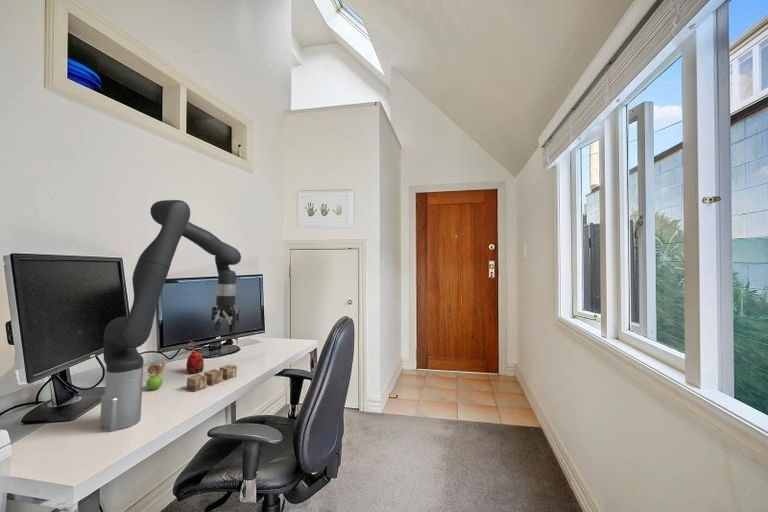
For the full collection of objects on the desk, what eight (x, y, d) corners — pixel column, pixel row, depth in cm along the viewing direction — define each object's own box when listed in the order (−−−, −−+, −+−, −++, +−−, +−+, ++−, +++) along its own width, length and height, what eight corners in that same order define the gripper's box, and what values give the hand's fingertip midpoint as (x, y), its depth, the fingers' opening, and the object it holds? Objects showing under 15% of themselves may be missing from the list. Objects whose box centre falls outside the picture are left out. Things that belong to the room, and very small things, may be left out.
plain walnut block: (211, 386, 135) (212, 374, 135) (203, 384, 137) (204, 372, 137) (222, 382, 140) (222, 370, 140) (214, 380, 142) (214, 369, 142)
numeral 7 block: (227, 380, 142) (227, 368, 142) (219, 378, 144) (219, 367, 144) (236, 377, 146) (237, 365, 147) (228, 375, 149) (229, 364, 149)
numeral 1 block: (195, 392, 128) (195, 379, 128) (186, 390, 130) (187, 377, 130) (206, 388, 133) (207, 375, 133) (198, 386, 135) (198, 373, 135)
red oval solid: (196, 374, 148) (198, 341, 149) (181, 374, 148) (183, 341, 149) (206, 369, 156) (207, 338, 156) (192, 369, 156) (193, 337, 156)
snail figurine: (166, 388, 131) (168, 358, 131) (147, 393, 126) (149, 362, 127) (163, 385, 135) (164, 356, 135) (144, 389, 130) (146, 359, 130)
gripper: (207, 293, 141) (205, 331, 140) (230, 295, 135) (228, 335, 134) (222, 293, 148) (220, 328, 147) (245, 294, 142) (243, 332, 141)
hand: (224, 331), depth 140 cm, fingers open, 8 cm apart
